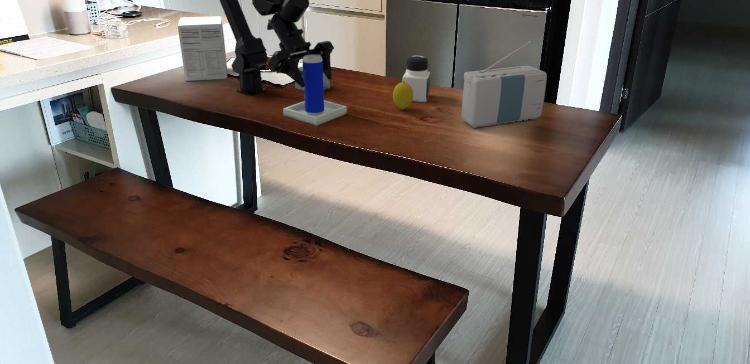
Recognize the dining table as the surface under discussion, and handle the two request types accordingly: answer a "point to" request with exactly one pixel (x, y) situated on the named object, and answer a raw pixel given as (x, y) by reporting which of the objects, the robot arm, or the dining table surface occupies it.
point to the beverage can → (313, 84)
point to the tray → (328, 114)
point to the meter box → (325, 81)
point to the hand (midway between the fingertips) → (317, 82)
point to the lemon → (402, 95)
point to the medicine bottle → (418, 77)
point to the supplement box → (202, 48)
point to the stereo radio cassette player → (503, 94)
